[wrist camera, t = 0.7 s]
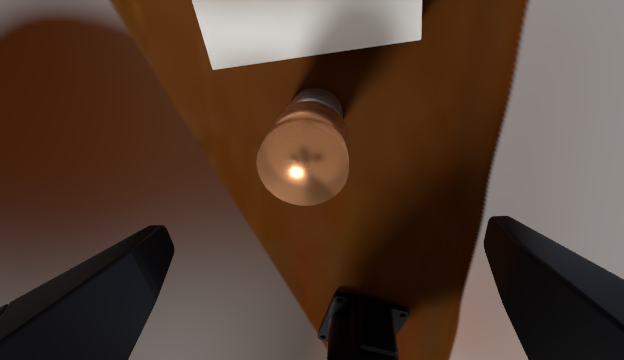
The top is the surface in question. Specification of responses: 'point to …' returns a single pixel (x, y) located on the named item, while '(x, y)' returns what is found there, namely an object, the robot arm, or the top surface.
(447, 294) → the top surface
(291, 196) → the brown round tapered piece
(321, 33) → the white block
